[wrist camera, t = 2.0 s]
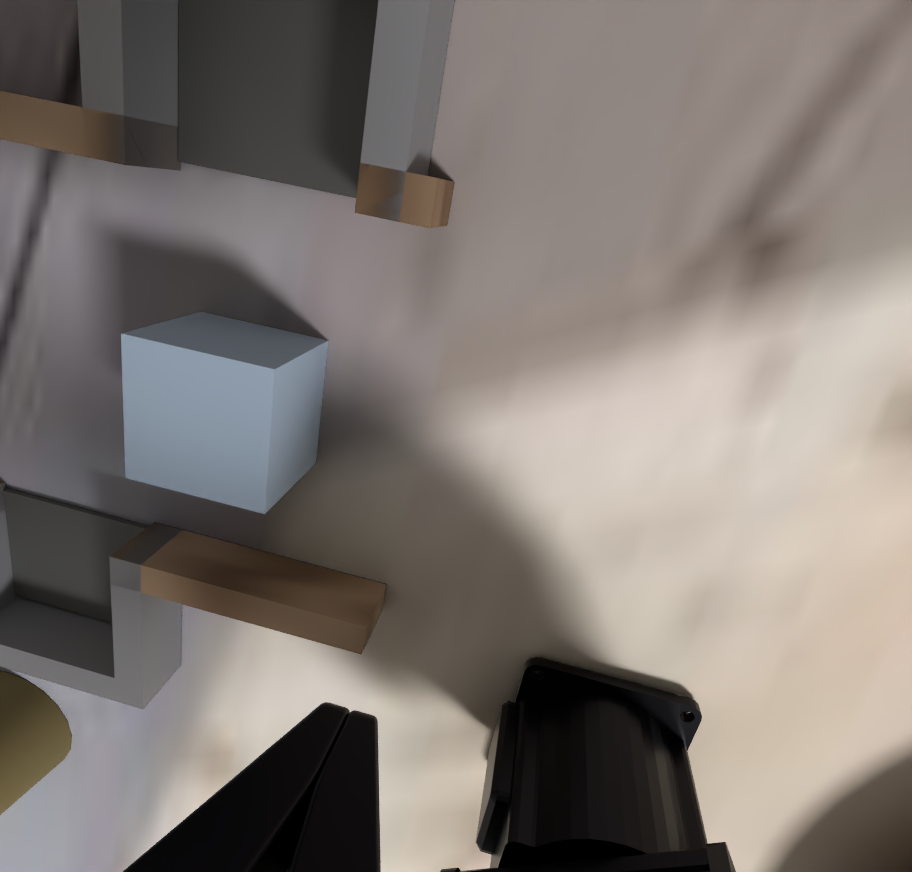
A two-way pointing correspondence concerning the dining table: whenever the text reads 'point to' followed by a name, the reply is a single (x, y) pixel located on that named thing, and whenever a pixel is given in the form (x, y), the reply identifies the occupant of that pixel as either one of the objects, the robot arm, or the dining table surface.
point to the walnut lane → (204, 558)
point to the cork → (28, 737)
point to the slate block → (221, 408)
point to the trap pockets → (233, 150)
